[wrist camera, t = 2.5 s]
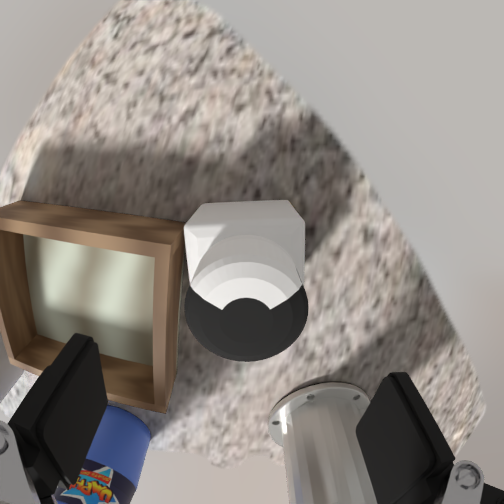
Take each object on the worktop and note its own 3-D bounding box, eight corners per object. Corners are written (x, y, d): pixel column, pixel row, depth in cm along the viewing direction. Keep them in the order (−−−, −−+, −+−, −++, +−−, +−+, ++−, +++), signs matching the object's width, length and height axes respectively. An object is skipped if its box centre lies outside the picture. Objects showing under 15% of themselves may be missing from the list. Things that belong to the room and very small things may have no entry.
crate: (188, 222, 25) (170, 245, 19) (177, 372, 30) (165, 413, 24) (20, 200, 23) (-19, 214, 18) (36, 335, 29) (10, 363, 23)
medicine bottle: (290, 281, 26) (317, 373, 15) (207, 284, 26) (182, 378, 15) (289, 198, 24) (326, 244, 13) (200, 202, 24) (159, 251, 13)
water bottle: (149, 453, 35) (116, 598, 12) (90, 432, 34) (38, 567, 11) (154, 418, 32) (110, 598, 9) (86, 394, 31) (13, 554, 8)
